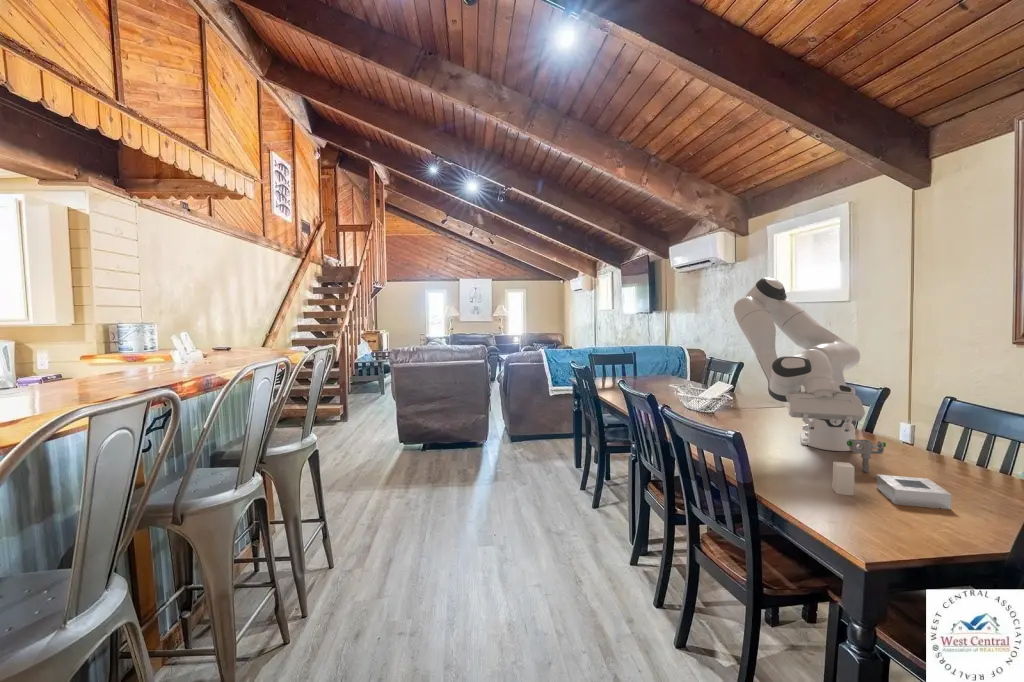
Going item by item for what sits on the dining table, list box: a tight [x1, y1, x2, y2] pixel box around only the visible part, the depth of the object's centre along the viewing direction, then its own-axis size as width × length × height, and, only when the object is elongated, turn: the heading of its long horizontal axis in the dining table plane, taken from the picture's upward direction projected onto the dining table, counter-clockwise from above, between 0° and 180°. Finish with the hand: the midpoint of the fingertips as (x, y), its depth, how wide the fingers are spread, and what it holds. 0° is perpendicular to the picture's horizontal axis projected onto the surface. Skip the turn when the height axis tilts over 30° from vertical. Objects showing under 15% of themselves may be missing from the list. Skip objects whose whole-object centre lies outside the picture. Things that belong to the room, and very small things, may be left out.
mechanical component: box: [847, 439, 887, 473], centre depth 151 cm, size 3×10×10 cm, turn 78°
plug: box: [832, 461, 855, 496], centre depth 135 cm, size 4×4×8 cm
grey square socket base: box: [876, 474, 953, 510], centre depth 130 cm, size 12×12×4 cm
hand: (829, 429), depth 146 cm, fingers open, 8 cm apart
